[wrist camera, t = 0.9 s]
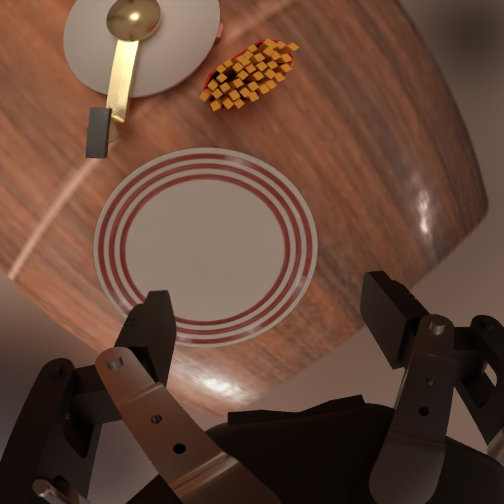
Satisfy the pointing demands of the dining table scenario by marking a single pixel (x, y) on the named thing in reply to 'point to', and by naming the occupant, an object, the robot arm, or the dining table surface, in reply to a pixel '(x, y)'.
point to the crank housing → (142, 44)
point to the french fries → (248, 74)
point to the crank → (121, 71)
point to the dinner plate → (208, 243)
